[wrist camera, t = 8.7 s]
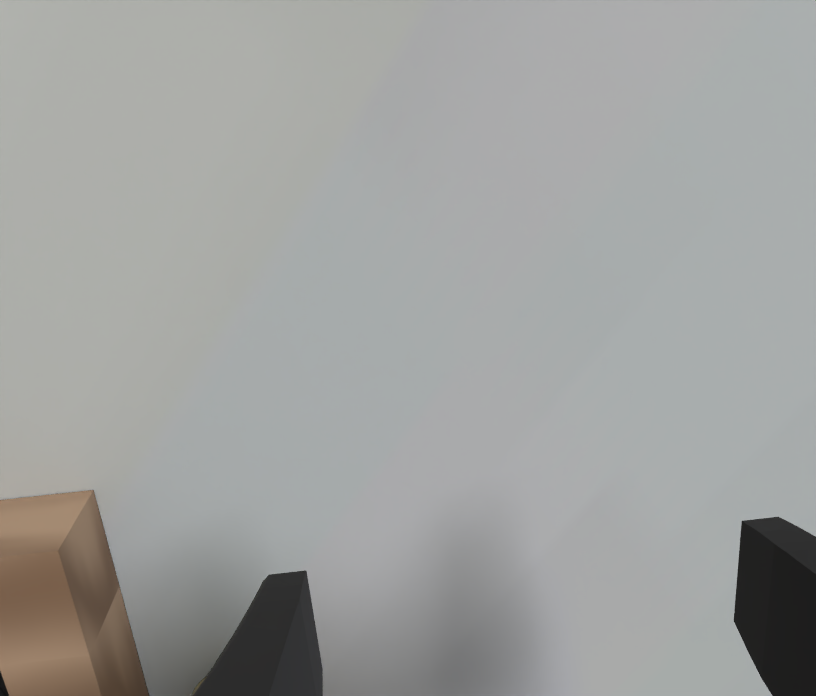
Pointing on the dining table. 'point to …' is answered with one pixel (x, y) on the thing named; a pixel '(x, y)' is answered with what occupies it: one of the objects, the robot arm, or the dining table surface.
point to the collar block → (62, 602)
